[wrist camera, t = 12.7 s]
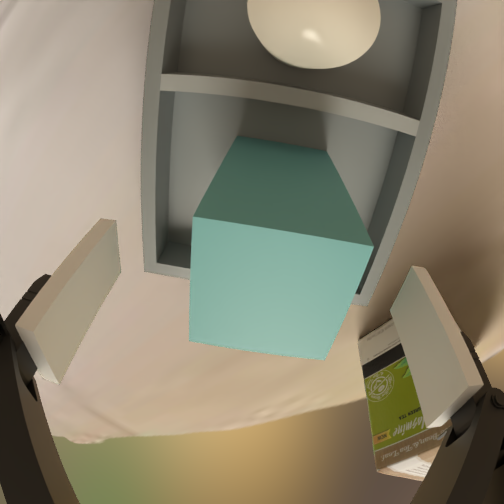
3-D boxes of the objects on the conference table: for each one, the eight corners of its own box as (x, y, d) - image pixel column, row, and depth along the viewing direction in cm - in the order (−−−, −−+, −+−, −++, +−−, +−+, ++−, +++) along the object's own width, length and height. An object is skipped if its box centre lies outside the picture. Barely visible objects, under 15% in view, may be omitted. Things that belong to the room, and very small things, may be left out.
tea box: (352, 340, 31) (372, 474, 19) (433, 286, 27) (491, 420, 14) (411, 388, 36) (432, 486, 24) (475, 349, 32) (512, 447, 19)
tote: (160, 243, 26) (144, 271, 23) (184, -43, 14) (166, -61, 10) (358, 274, 27) (367, 306, 23) (430, 4, 14) (457, -4, 11)
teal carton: (227, 215, 23) (189, 341, 13) (237, 135, 20) (192, 216, 10) (308, 228, 24) (324, 360, 13) (326, 151, 20) (374, 246, 10)
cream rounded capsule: (251, 60, 17) (238, 57, 11) (264, -17, 14) (257, -55, 8) (339, 77, 17) (369, 82, 12) (353, 0, 14) (387, -27, 8)
